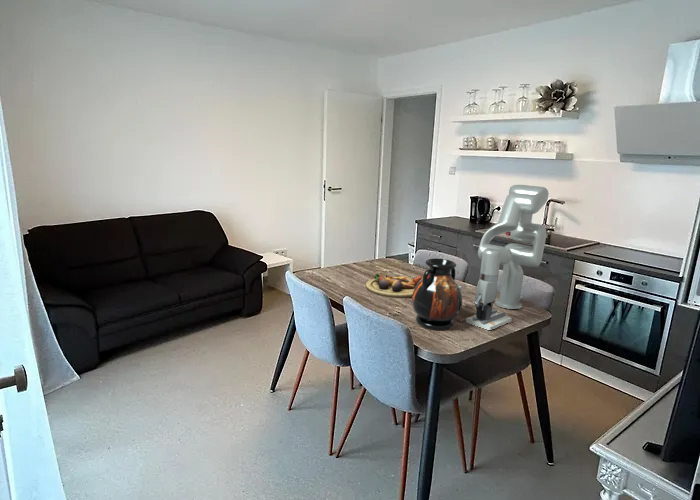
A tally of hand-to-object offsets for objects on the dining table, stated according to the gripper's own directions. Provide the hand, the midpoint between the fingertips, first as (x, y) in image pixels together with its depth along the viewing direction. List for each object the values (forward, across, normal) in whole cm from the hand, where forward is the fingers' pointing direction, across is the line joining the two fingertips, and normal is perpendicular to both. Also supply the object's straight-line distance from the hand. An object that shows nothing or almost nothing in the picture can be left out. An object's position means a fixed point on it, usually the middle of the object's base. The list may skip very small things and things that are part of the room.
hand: (483, 316), depth 188 cm
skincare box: (+4, -3, -18) cm, 19 cm away
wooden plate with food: (+5, -4, -57) cm, 57 cm away
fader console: (+4, -5, 0) cm, 6 cm away
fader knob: (+2, 0, 0) cm, 2 cm away
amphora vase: (+4, +17, -13) cm, 22 cm away
